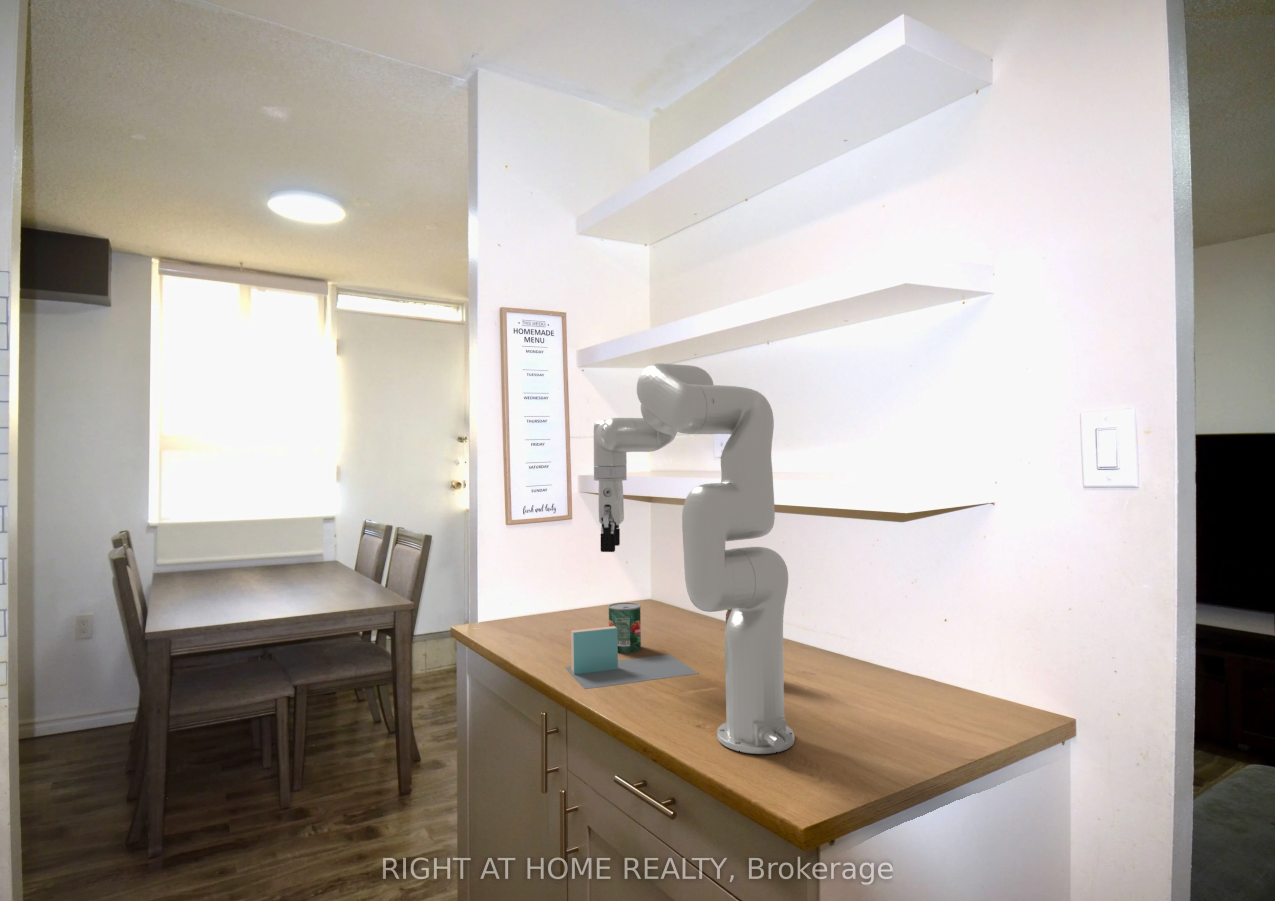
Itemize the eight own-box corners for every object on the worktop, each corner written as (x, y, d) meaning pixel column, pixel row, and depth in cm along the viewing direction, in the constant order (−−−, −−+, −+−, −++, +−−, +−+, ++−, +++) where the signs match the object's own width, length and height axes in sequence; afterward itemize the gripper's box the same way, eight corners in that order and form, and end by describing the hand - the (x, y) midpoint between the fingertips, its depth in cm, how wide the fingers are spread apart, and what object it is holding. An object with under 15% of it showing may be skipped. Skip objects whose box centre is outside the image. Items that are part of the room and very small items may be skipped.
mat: (699, 675, 147) (698, 673, 147) (584, 691, 138) (584, 688, 138) (669, 656, 162) (669, 654, 162) (564, 669, 153) (564, 666, 153)
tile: (617, 668, 151) (617, 627, 151) (574, 674, 148) (573, 632, 148) (615, 666, 153) (614, 625, 153) (571, 671, 150) (571, 630, 150)
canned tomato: (605, 648, 170) (604, 603, 171) (635, 644, 173) (634, 601, 173) (614, 656, 163) (613, 610, 163) (645, 653, 165) (644, 607, 165)
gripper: (622, 475, 148) (623, 554, 148) (629, 472, 165) (630, 543, 165) (588, 475, 149) (588, 554, 149) (599, 472, 166) (599, 543, 166)
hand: (610, 548), depth 157 cm, fingers open, 9 cm apart
